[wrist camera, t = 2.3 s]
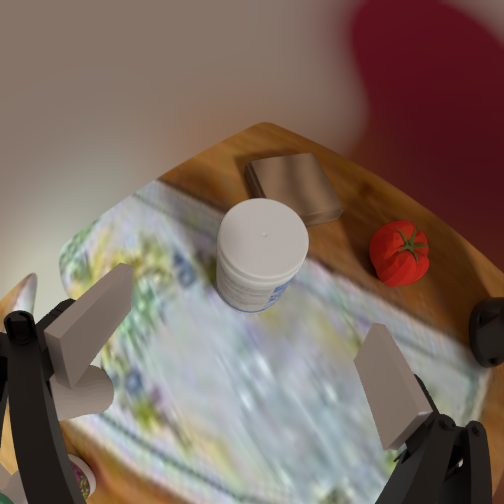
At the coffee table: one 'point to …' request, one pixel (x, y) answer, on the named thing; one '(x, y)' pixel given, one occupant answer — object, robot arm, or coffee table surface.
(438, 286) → the coffee table surface
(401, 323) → the coffee table surface
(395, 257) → the tomato
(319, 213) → the plinth
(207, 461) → the coffee table surface
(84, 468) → the milk bottle
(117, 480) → the coffee table surface
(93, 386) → the beige bookend
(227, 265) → the supplement tub
